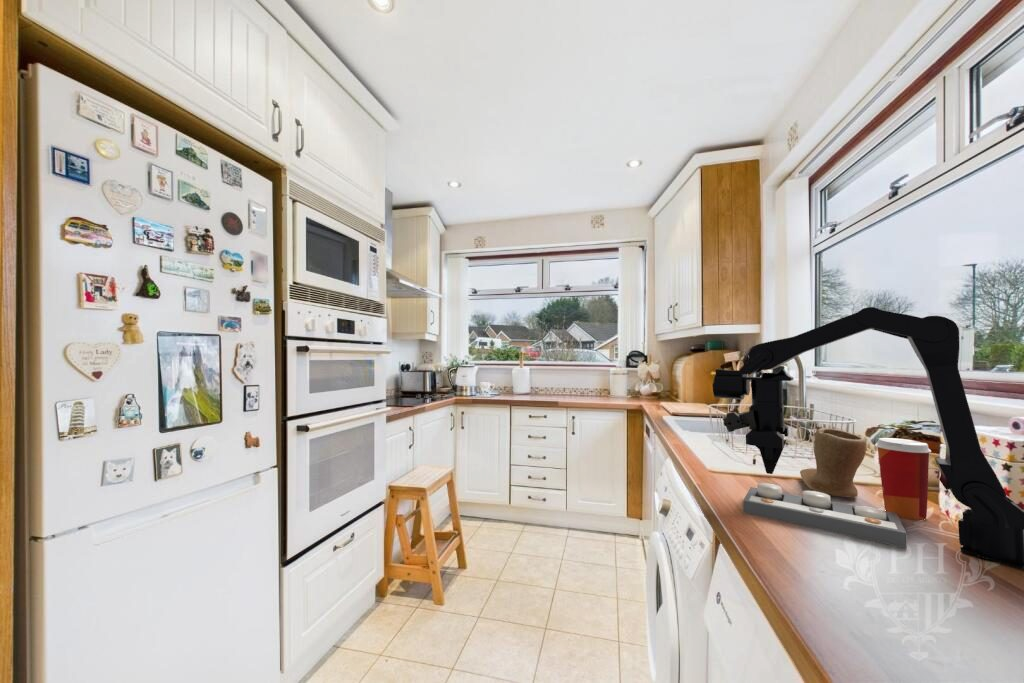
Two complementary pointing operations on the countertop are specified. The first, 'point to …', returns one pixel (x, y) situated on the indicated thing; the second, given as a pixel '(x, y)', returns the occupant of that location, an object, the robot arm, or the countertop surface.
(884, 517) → the button
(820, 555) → the countertop surface
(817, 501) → the button middle
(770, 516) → the button board
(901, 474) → the coffee cup
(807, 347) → the robot arm
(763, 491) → the button
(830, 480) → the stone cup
